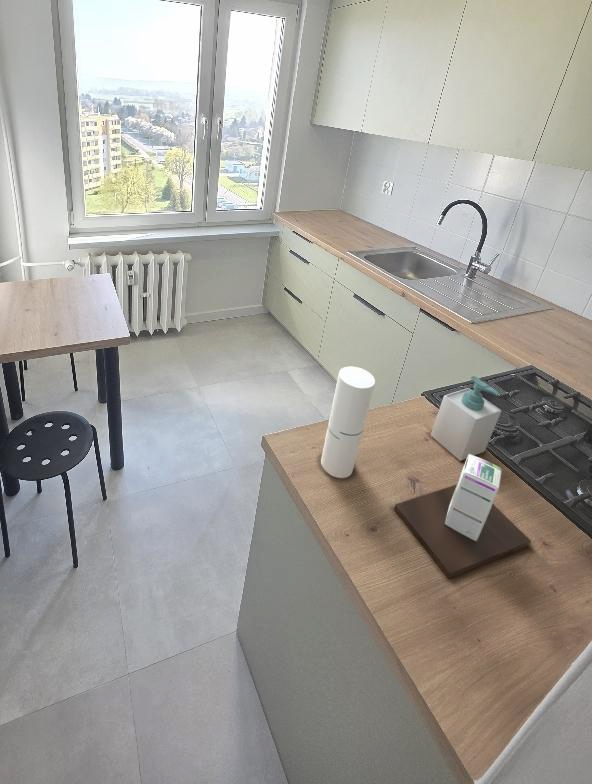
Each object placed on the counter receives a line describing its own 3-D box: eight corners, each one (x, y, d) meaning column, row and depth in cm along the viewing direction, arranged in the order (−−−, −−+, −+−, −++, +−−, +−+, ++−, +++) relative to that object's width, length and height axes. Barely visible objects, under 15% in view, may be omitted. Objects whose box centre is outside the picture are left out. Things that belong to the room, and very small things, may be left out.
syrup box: (477, 542, 79) (501, 489, 73) (442, 524, 82) (463, 471, 76) (480, 520, 83) (504, 468, 77) (448, 503, 86) (468, 451, 80)
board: (467, 485, 92) (468, 480, 92) (528, 546, 80) (531, 541, 80) (393, 509, 86) (395, 504, 86) (448, 578, 74) (450, 573, 74)
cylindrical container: (350, 482, 92) (373, 392, 82) (318, 470, 94) (336, 381, 84) (354, 459, 98) (376, 372, 88) (324, 448, 100) (341, 362, 90)
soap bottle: (460, 462, 98) (485, 398, 90) (430, 435, 106) (450, 374, 98) (485, 452, 101) (512, 389, 93) (454, 426, 109) (476, 366, 101)
